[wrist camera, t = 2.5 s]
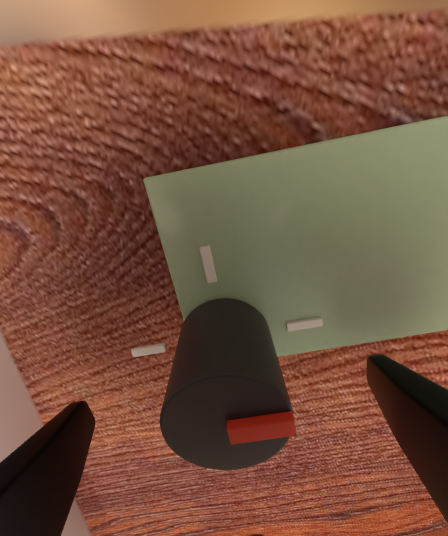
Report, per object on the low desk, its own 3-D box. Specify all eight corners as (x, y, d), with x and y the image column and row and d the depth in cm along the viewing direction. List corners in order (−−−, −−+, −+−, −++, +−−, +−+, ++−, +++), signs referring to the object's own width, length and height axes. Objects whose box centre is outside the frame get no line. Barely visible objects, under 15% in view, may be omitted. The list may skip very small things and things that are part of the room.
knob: (192, 377, 12) (176, 490, 8) (170, 306, 10) (138, 396, 6) (274, 364, 11) (303, 473, 7) (263, 290, 10) (290, 373, 6)
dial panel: (170, 371, 15) (158, 421, 12) (107, 185, 12) (69, 193, 9) (546, 311, 14) (632, 351, 11) (611, 81, 10) (766, 49, 7)
